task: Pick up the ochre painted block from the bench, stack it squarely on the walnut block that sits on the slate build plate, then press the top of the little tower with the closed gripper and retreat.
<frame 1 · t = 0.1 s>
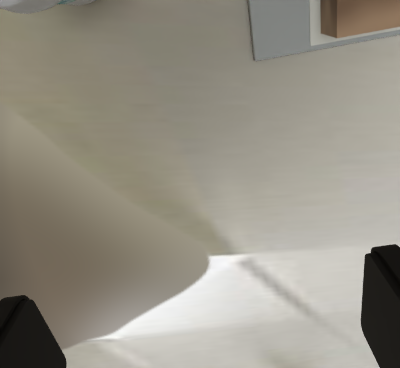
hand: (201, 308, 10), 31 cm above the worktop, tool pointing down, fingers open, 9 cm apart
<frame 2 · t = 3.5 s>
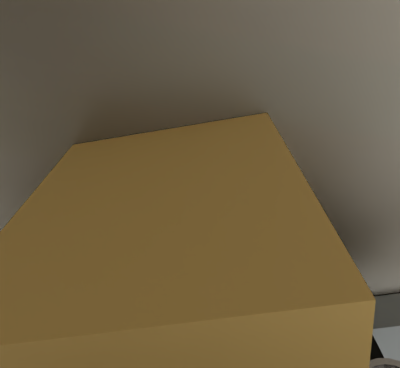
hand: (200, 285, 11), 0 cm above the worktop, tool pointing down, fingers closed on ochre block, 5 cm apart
ochre block: (186, 211, 10), on the worktop, touching gripper
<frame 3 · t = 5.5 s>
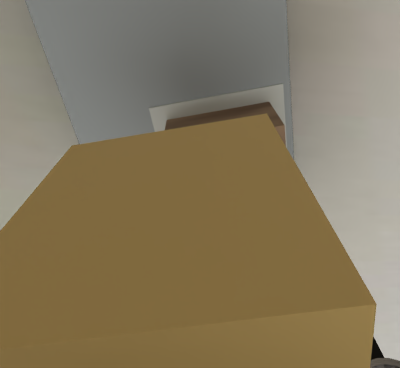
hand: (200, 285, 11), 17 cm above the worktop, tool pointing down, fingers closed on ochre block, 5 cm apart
build plate: (180, 104, 25), on the worktop
walnut block: (224, 157, 25), point 1 cm above the worktop, touching build plate
ochre block: (185, 212, 10), point 16 cm above the worktop, touching gripper
when the fingers open (7 cm above the worktop, at t = 7.7 s): ochre block stays where it is, resting on walnut block.
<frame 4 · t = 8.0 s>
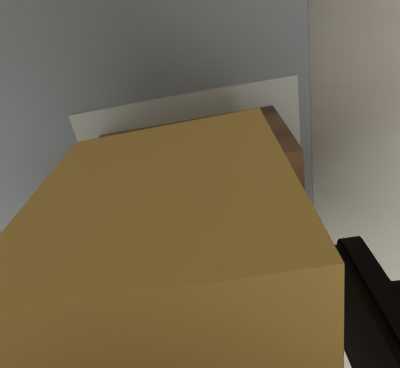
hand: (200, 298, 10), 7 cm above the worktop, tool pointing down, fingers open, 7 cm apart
build plate: (127, 109, 15), on the worktop
walnut block: (200, 195, 16), point 1 cm above the worktop, touching build plate, ochre block
ochre block: (185, 203, 10), point 6 cm above the worktop, touching walnut block
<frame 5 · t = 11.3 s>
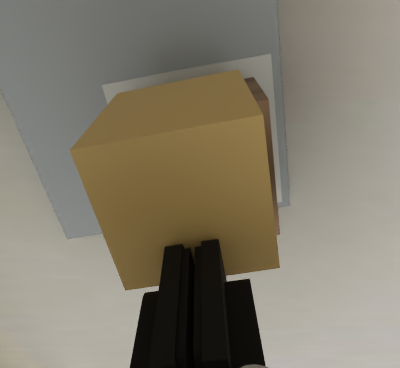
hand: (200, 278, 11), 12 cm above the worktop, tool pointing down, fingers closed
build plate: (144, 81, 20), on the worktop
walnut block: (199, 148, 20), point 1 cm above the worktop, touching build plate, ochre block
ochre block: (189, 138, 15), point 6 cm above the worktop, touching walnut block
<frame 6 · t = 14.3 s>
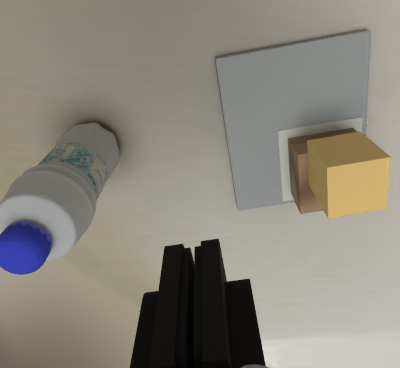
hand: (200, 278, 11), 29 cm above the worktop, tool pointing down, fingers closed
bottle: (95, 143, 40), on the worktop
build plate: (293, 128, 39), on the worktop
walnut block: (320, 161, 40), point 1 cm above the worktop, touching build plate, ochre block
ochre block: (333, 159, 34), point 6 cm above the worktop, touching walnut block
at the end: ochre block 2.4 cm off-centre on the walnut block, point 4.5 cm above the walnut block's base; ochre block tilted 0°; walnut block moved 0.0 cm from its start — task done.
